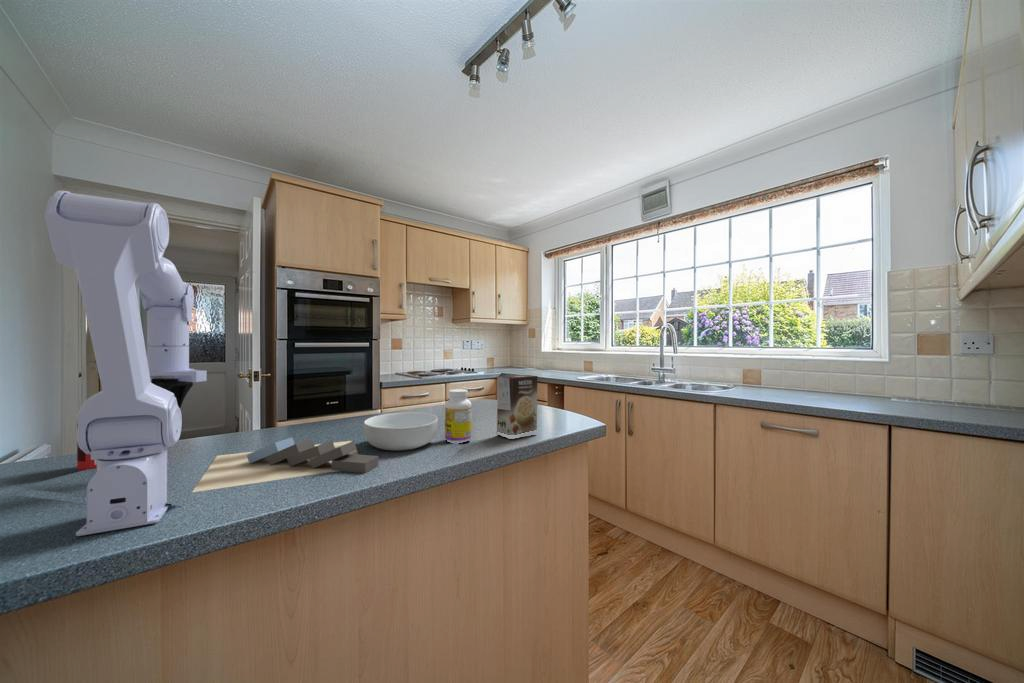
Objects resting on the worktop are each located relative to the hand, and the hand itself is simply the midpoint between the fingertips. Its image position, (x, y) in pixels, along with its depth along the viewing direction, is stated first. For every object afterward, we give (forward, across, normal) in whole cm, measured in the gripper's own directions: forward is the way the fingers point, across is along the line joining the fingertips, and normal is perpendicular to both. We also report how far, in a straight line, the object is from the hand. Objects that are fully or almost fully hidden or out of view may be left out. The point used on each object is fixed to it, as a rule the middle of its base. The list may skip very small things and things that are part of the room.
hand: (168, 420), depth 70 cm
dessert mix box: (+11, -57, -44) cm, 73 cm away
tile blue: (+9, -10, -9) cm, 16 cm away
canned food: (+11, +18, -2) cm, 21 cm away
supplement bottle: (+11, -44, -35) cm, 57 cm away
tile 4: (+9, -24, -9) cm, 27 cm away
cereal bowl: (+11, -33, -26) cm, 43 cm away
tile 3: (+9, -19, -9) cm, 23 cm away
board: (+10, -16, -10) cm, 22 cm away
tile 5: (+8, -28, -9) cm, 31 cm away
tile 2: (+9, -15, -9) cm, 19 cm away
